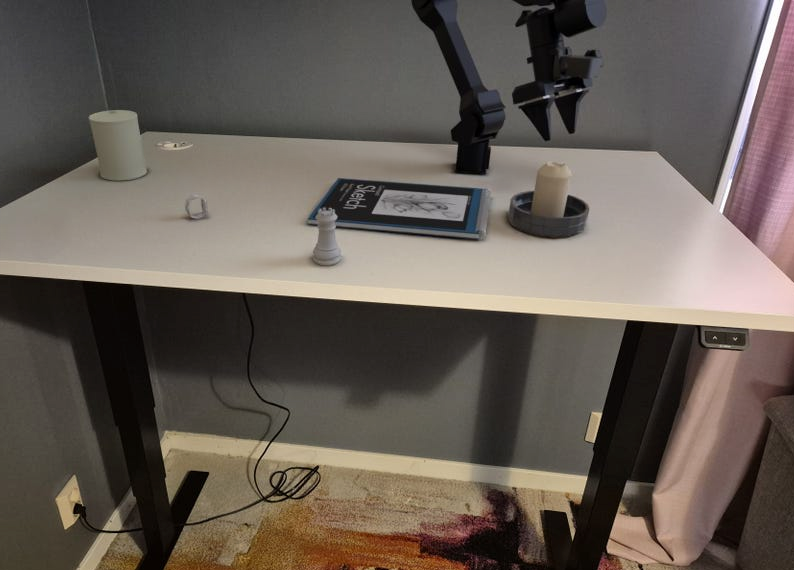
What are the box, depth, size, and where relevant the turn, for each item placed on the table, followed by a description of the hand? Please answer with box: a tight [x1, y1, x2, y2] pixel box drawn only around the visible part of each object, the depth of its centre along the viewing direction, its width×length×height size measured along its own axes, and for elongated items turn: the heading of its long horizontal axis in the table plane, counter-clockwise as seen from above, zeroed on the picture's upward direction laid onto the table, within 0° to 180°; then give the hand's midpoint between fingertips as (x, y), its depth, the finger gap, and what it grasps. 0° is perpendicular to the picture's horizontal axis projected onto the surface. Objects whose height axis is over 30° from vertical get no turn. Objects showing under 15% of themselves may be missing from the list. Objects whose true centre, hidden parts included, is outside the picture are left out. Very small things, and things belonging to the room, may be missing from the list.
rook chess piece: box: [312, 208, 342, 267], centre depth 96 cm, size 4×4×8 cm
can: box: [88, 109, 148, 182], centre depth 128 cm, size 9×9×12 cm
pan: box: [507, 190, 590, 238], centre depth 110 cm, size 13×13×4 cm
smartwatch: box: [184, 194, 209, 220], centre depth 111 cm, size 4×2×4 cm, turn 118°
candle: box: [531, 160, 573, 217], centre depth 108 cm, size 6×6×10 cm
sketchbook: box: [307, 177, 492, 241], centre depth 115 cm, size 22×30×2 cm
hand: (560, 137), depth 116 cm, fingers open, 9 cm apart
